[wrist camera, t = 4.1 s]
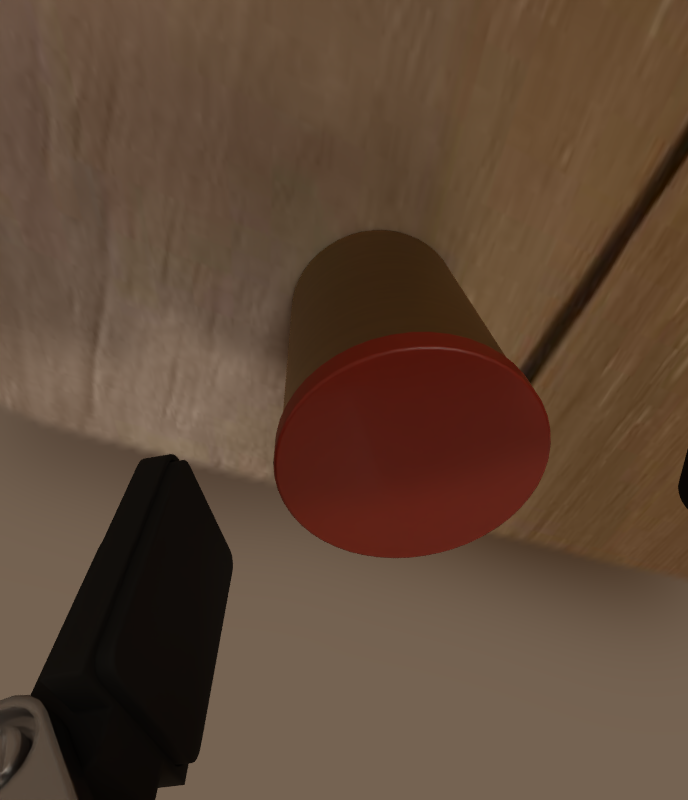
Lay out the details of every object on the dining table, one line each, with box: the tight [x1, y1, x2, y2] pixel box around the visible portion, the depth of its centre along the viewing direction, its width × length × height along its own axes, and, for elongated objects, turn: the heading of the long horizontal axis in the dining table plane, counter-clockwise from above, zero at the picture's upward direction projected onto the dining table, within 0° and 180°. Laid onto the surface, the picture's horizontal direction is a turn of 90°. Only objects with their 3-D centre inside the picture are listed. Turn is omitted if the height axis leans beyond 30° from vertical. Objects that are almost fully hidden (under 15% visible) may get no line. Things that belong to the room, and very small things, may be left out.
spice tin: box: [273, 230, 551, 558], centre depth 12 cm, size 5×5×7 cm
